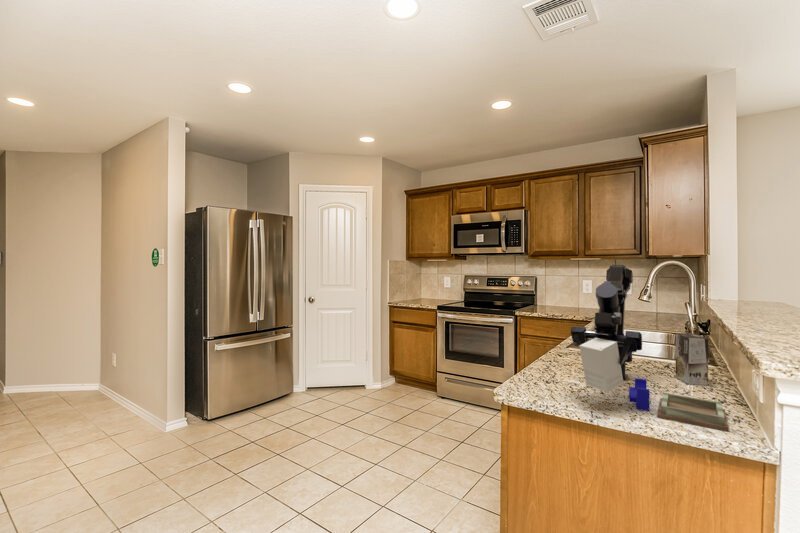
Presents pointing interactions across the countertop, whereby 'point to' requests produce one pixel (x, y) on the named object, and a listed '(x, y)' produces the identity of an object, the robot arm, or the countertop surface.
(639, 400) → the cable clip
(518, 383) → the countertop surface
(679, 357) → the coffee box
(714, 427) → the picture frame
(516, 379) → the countertop surface
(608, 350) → the supplement box
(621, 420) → the countertop surface
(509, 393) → the countertop surface
